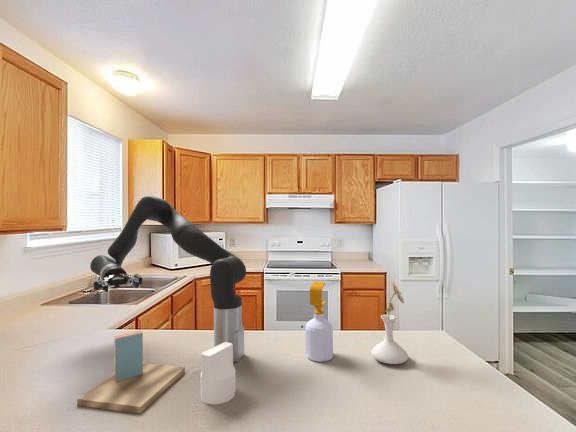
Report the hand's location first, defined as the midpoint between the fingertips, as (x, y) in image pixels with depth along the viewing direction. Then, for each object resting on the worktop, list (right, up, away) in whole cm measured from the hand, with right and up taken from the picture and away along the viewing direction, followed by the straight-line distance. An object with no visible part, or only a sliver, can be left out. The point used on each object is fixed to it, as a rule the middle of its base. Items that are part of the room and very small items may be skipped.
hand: (122, 286), depth 97 cm
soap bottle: (+64, -24, +4) cm, 68 cm away
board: (+11, -25, -13) cm, 30 cm away
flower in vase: (+87, -24, +2) cm, 90 cm away
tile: (+7, -23, -10) cm, 27 cm away
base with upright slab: (+35, -25, -17) cm, 46 cm away
